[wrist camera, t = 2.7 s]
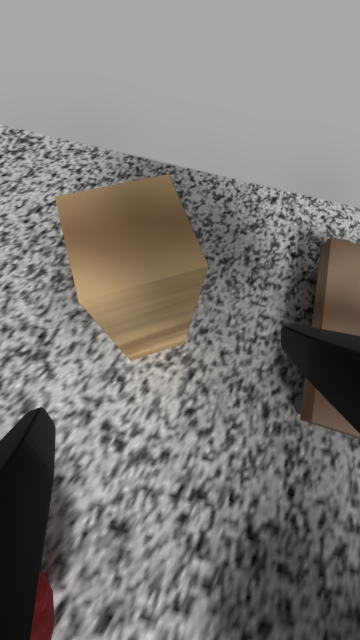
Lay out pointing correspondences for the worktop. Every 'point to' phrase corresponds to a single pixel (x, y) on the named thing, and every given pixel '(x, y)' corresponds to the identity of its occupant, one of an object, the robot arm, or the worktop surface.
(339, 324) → the footed wooden board
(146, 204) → the wooden block
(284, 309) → the worktop surface
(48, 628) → the onion
